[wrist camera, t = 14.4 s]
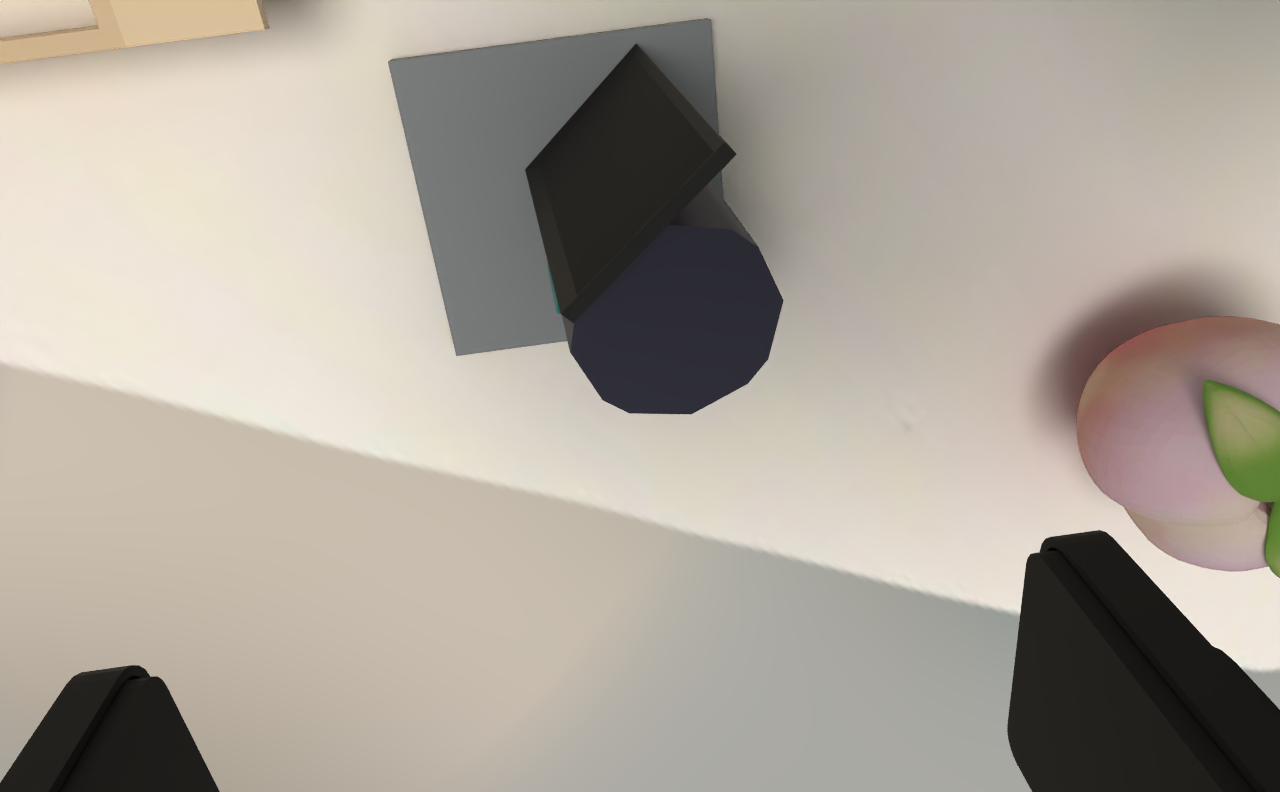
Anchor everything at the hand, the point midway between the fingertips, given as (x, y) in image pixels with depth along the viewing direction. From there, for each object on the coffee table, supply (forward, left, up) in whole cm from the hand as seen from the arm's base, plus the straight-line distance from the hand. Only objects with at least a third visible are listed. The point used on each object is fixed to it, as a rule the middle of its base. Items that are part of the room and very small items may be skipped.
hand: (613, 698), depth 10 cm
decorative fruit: (-21, +10, -23) cm, 33 cm away
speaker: (-2, 0, -22) cm, 22 cm away
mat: (0, 0, -23) cm, 23 cm away
